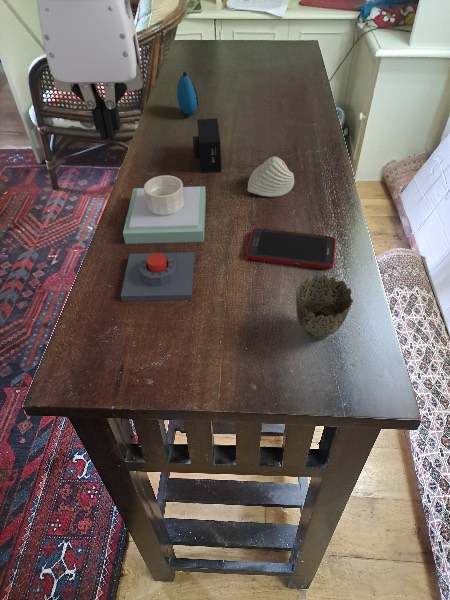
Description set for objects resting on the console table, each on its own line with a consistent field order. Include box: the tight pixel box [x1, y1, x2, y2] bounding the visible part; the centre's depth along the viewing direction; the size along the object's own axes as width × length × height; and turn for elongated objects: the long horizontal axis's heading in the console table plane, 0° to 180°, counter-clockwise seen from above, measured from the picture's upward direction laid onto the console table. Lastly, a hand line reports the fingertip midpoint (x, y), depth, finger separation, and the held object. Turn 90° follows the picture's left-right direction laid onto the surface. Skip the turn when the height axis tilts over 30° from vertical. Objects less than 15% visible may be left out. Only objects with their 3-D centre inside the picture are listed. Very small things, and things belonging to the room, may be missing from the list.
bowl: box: [143, 174, 185, 215], centre depth 82 cm, size 7×7×4 cm
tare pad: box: [120, 251, 196, 302], centre depth 74 cm, size 11×10×3 cm
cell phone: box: [245, 227, 337, 270], centre depth 78 cm, size 8×15×1 cm, turn 78°
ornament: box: [176, 71, 199, 116], centre depth 112 cm, size 8×5×10 cm, turn 22°
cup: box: [295, 274, 354, 341], centre depth 63 cm, size 8×7×8 cm
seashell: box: [247, 156, 295, 198], centre depth 90 cm, size 8×8×8 cm
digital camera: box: [192, 117, 222, 174], centre depth 98 cm, size 10×5×7 cm, turn 4°
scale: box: [122, 185, 207, 245], centre depth 85 cm, size 14×14×3 cm
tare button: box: [147, 252, 167, 273], centre depth 72 cm, size 3×3×2 cm
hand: (109, 134), depth 60 cm, fingers closed
